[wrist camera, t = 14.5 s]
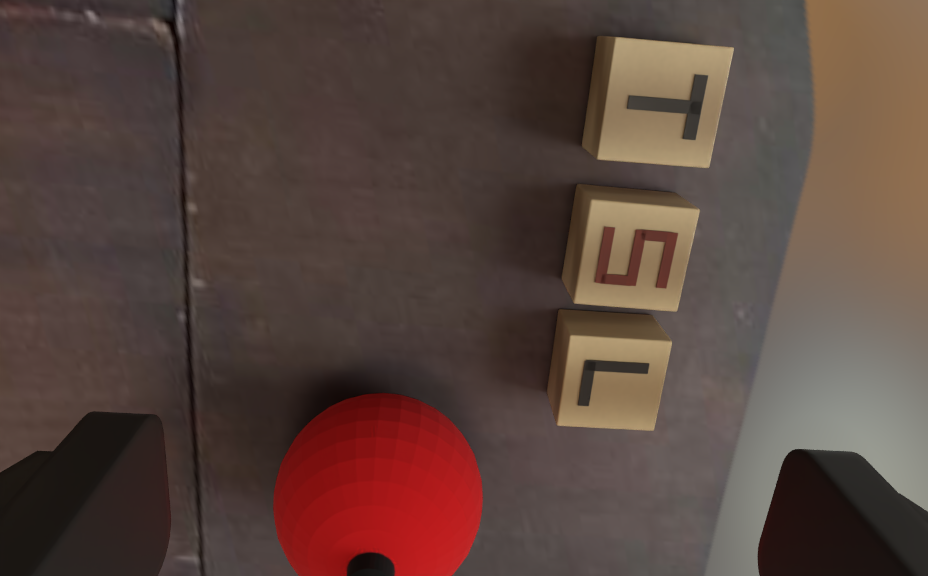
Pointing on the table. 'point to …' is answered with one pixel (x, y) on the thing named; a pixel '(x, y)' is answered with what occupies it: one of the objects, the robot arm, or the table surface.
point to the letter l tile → (607, 369)
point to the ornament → (378, 491)
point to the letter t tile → (655, 101)
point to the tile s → (628, 247)
